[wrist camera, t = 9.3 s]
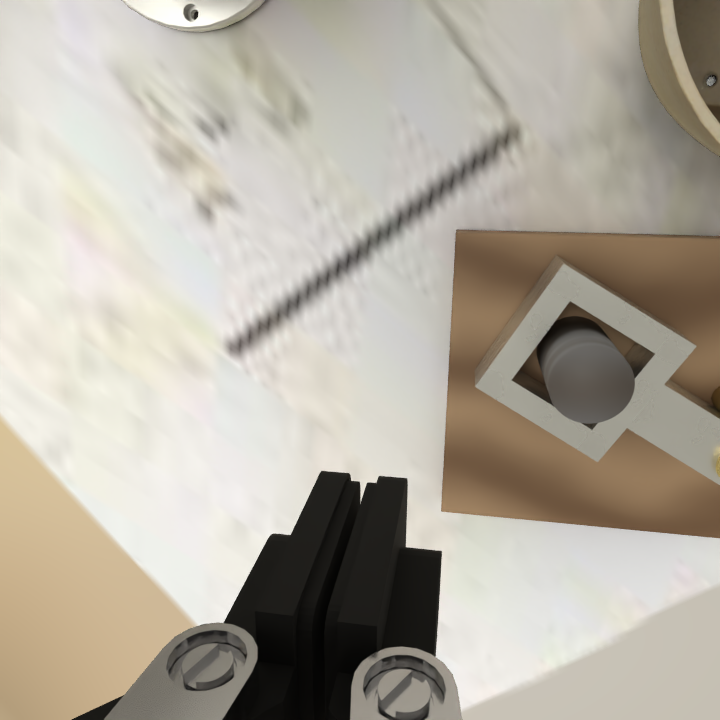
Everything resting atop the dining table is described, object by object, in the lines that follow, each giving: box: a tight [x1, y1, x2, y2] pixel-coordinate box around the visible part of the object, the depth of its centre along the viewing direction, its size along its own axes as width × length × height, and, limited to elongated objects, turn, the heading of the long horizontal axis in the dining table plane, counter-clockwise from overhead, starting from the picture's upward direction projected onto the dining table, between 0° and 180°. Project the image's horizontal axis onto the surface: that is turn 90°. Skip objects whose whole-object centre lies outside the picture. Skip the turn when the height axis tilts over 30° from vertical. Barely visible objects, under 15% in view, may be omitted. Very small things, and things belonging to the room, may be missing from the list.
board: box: [441, 230, 720, 538], centre depth 34 cm, size 18×18×8 cm
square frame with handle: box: [475, 255, 720, 485], centre depth 34 cm, size 15×8×4 cm, turn 60°
